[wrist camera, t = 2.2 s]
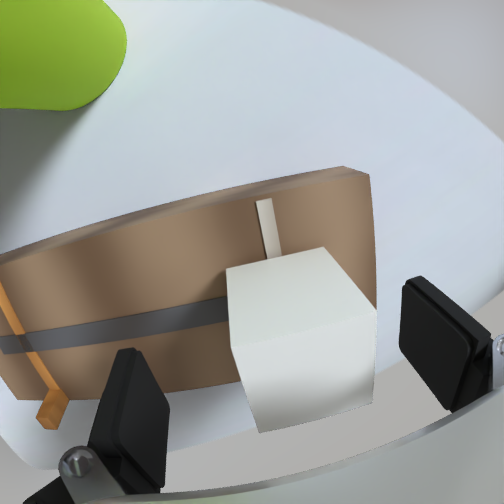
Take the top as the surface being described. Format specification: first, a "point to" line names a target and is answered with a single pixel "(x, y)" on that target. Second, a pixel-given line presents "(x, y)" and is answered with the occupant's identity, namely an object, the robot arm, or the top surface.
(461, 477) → the robot arm
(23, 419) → the top surface
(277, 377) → the fader knob
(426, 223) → the top surface
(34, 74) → the soap dispenser
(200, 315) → the fader console
